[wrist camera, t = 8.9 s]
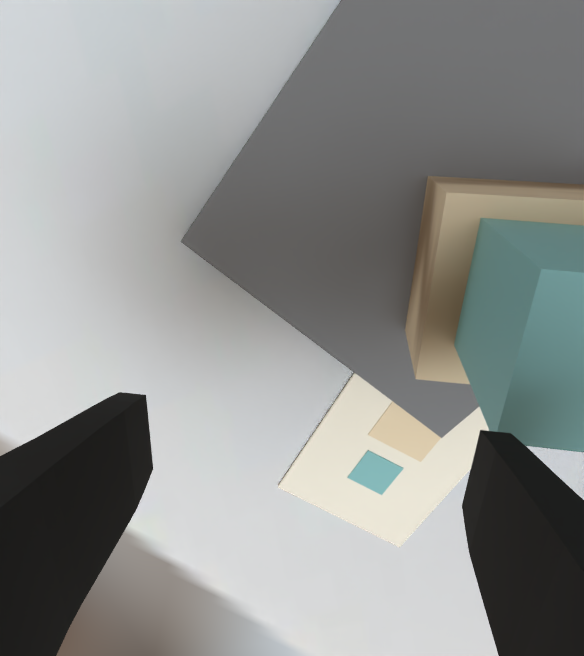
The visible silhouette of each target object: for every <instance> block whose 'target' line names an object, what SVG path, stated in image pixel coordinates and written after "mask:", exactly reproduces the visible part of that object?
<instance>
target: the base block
mask: <svg viewBox="0 0 584 656" xmlns="http://www.w3.org/2000/svg"><path fill="white" fill-rule="evenodd" d="M481 218H491V219H504V220H517V221H530V222H544V223H557V224H570V225H583V226H584V185H583V184H564V183H546V182H528V181H510V180H492V179H474V178H456V177H438V176H428V179H427V186H426V192H425V199H424V206H423V213H422V219H421V226H420V233H419V239H418V246H417V253H416V260H415V266H414V273H413V280H412V287H411V293H410V300H409V307H408V314H407V320H406V327H405V332H406V337H407V342H408V346H409V351H410V356H411V360H412V365H413V369H414V374H415V379H418V380H428V381H439V382H449V383H460V384H470V382H469V380H468V378H467V375H466V373H465V370H464V368H463V365H462V363H461V361H460V358H459V356H458V353H457V351H456V349H455V346H454V342H455V337H456V333H457V328H458V323H459V318H460V314H461V309H462V304H463V299H464V295H465V290H466V285H467V280H468V276H469V271H470V266H471V262H472V257H473V252H474V247H475V243H476V238H477V233H478V228H479V224H480V219H481Z"/></svg>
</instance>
